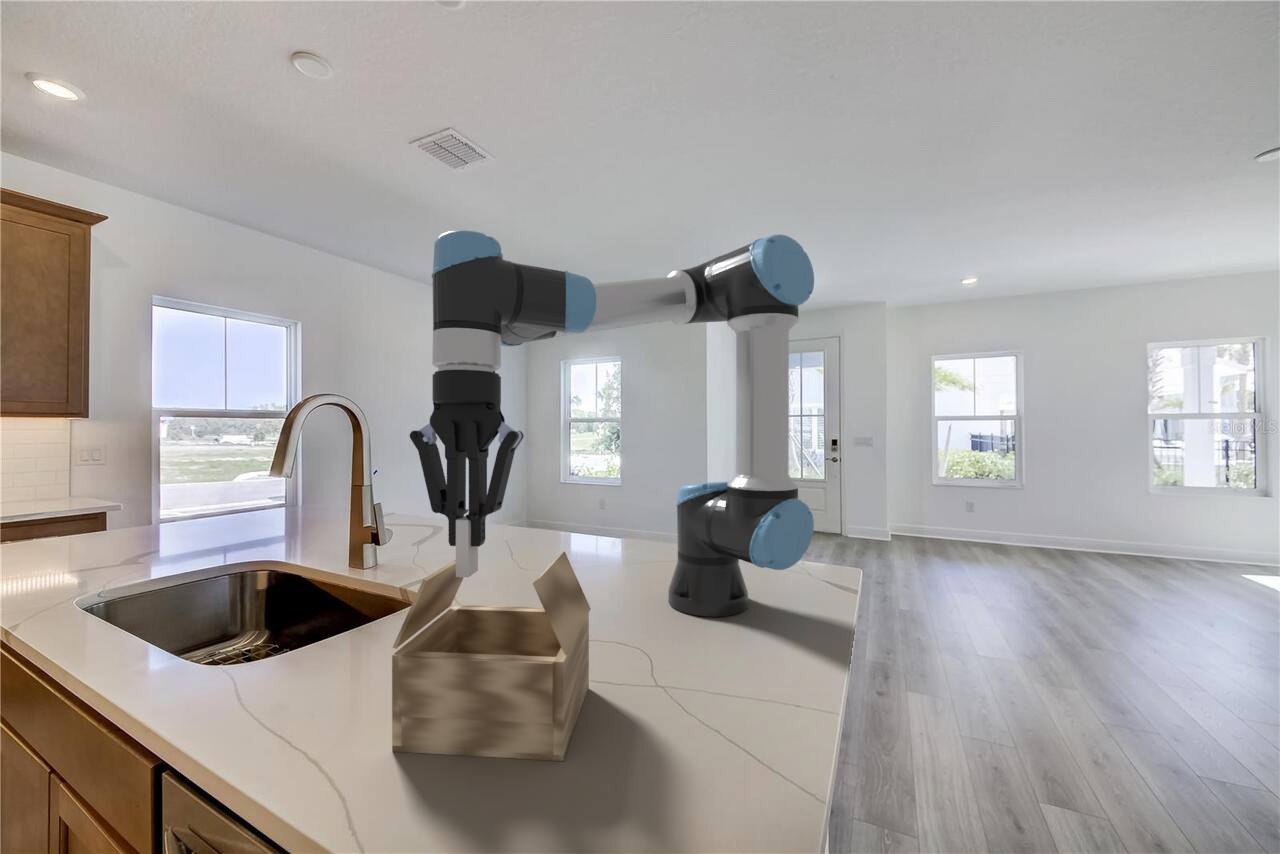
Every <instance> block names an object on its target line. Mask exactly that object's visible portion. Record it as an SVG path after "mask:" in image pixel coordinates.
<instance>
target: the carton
mask: <svg viewBox="0 0 1280 854" xmlns="http://www.w3.org/2000/svg"><path fill="white" fill-rule="evenodd" d="M589 617H590V612H589V613H588V615H587V617H586V620H585V622H584V624H583V626H582V628H581V630H580V632H579V634H578V636H577V638H576V640H575V642H574V644H573V646H572V648H571V650H570V652H569V654H568V655H565V654H564V652H563V650H562V648H561V645H560V643H559V641H558V639H557V636H556V634H555V632H554V630H553V628H552V625H551V623H550V621H549V619H548V617H547V614H546V612H545V610H544V608H543V606H542V607H541V606H540V607H538V606H507V605H477V604H476V605H475V604H473V605H472V604H462V605H461V606H459V605H458V606H457V605H456V606H455V605H454V606H452V607H449V608H448V610H447V611H446V612H445V611H444V613H443V614H441V616H440V615H439V617H438V618H436V620H435V619H434V620H435V621H433V622H432V623H429V625H428V626H426V627H425V628H423V630H422V631H420V632H419V633H418V634H417V635H416V636H413V638H412V639H409V641H408V642H406V643H405V644H404V645H403V646H402V647H401V648H399V649H398V650H397V651H395V652H394V653H393V654H391V715H392V717H391V722H392V723H391V731H392V732H391V734H392V735H391V744H392V745H391V746H392V748H391V749H392V752H394V753H395V752H398V753H413V754H414V753H415V754H429V755H430V754H431V755H445V756H447V755H448V756H449V755H450V756H463V757H464V756H465V757H466V756H468V757H484V758H485V757H487V758H501V759H503V758H504V759H517V760H518V759H519V760H522V759H523V760H537V761H538V760H539V761H553V762H554V761H555V762H557V761H558V762H564V761H565V757H566V754H567V752H568V749H569V747H570V744H571V739H573V738H572V737H573V734H574V732H575V728H576V727H577V723H578V720H579V717H580V714H581V712H582V708H583V705H584V703H585V699H586V697H587V694H588V692H589V690H590V689H589V687H590V684H589V683H590V681H589V680H590V677H589V676H590V675H589V674H590V672H589V671H590V665H589V664H590V660H589V659H590V658H589V657H590V656H589V655H590V654H589V653H590V652H589V651H590V650H589V649H590V644H589V643H590V639H589V638H590V629H589V628H590V623H589V622H590V621H589V620H590V618H589Z"/></svg>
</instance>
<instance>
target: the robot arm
mask: <svg viewBox="0 0 1280 854" xmlns="http://www.w3.org/2000/svg"><path fill="white" fill-rule="evenodd" d="M433 246H434V248H433V261H432V262H433V263H432V273H431V279H432V357H431V358H432V360H431V361H432V362H431V363H432V365H433V366H434V367H435V368H437V369H438V370H437V371H436V370H435V372H434V373H433V374H432V404H433V410H432V413H431V414H430V417H429V423H428V424H426V425H424V426H423V427H422V428H420V429H419V430H418V429H417V430H412V431H410V433H409V438H410V440H411V441H412V443H413V445H414V447H415V448H416V449H417V452H418V455H419V461H420V464H421V469H422V473H423V478H424V482H425V487H426V491H427V495H428V499H429V504H430V509H431V511H432V512H433V513H435V514H440V515H443V516H445V517H446V518H447V520H448V545H449V546H450V547H455V560H456V577H464V578H470V577H471V576H472V575H474V574H475V573H477V572H478V571H479V562H478V561H479V547H480V546H483V545H484V544H485V541H486V519H487V516H488V515H491V514H493V513H495V512H498V511H500V510H501V509H502V507H503V502H504V499H505V494H506V491H507V490H506V489H507V485H508V482H509V478H510V477H509V476H510V473H511V468H512V464H513V461H514V457H515V452H516V450H517V448H518V447H519V445H520V444H521V442H522V441H523V439H524V433H523V432H522V431H521V430H515V429H514V428H512V427H511V426H509V425H508V424H507V423H505V422H506V421H505V416H504V414H503V413H502V409H501V405H502V404H501V403H502V400H501V399H502V377H501V376H500V374H499V373H496V371H497V370H498V371H499V370H500V369H501V367H502V366H501V365H502V361H501V358H502V350H501V349H502V346H503V347H517V346H520V345H523V344H524V343H530V342H535V341H541V340H542V341H543V340H549V339H552V338H553V339H555V338H560V337H566V336H574V335H579V334H587V333H593V332H601V331H609V330H614V329H615V330H616V329H621V328H628V327H635V326H641V325H648V324H655V323H661V322H667V321H668V322H670V321H671V322H672V323H674V324H676V325H679V326H680V325H686V324H696V323H714V322H715V323H717V322H726V323H727V326H728V327H729V328H731V330H733V331H734V333H735V334H736V337H735V339H736V340H735V341H736V343H735V344H736V345H735V346H736V349H735V350H736V352H735V355H736V357H735V359H736V362H735V363H736V364H735V365H736V367H735V369H736V370H735V374H736V375H735V377H736V379H735V382H736V383H735V387H736V388H735V389H736V392H735V394H736V397H735V401H736V403H735V404H736V405H735V407H736V408H735V413H736V415H735V418H736V419H735V423H736V424H735V434H736V435H735V436H736V437H735V443H736V444H735V447H736V449H735V452H736V453H735V456H736V457H735V464H736V465H735V475H734V476H733V477H732V478H731V479H730V480H729V481H719V482H718V481H715V482H701V483H689V484H683V485H681V486H680V487H679V489H678V492H677V503H676V507H677V508H676V512H677V513H676V517H677V518H676V524H677V526H676V527H677V561H676V565H675V568H674V571H673V575H672V578H671V581H670V584H669V587H668V598H667V599H668V603H669V605H670V607H672V608H673V609H674V610H676V611H679V612H681V613H685V614H689V615H692V616H699V617H710V618H711V617H712V618H714V617H728V616H733V615H736V614H740V613H742V612H744V611H746V610H747V609H748V607H749V592H748V589H747V585H746V582H745V579H744V575H743V573H742V569H741V566H740V563H739V561H743V562H746V563H750V564H751V565H754V566H756V567H757V568H762V569H763V568H767V569H770V570H775V571H784V570H786V569H787V570H788V569H790V568H791V567H794V566H795V565H796V564H797V563H799V562H800V561H801V559H803V557H804V554H806V552H807V551H808V549H809V547H810V545H811V543H812V539H813V537H814V536H813V535H814V529H815V525H814V523H815V521H814V517H813V512H812V511H811V510H810V507H809V505H807V504H806V503H805V502H803V501H802V500H801V499H799V485H798V484H797V483H796V482H795V481H794V480H793V478H791V477H790V474H789V466H790V465H789V460H790V459H789V451H790V450H789V445H790V443H789V440H790V439H789V438H790V437H789V428H790V427H789V420H790V419H789V417H790V416H789V411H790V410H789V409H790V408H789V403H790V402H789V401H790V400H789V397H790V396H789V392H790V391H789V388H790V387H789V385H790V384H789V381H790V380H789V379H790V378H789V377H790V376H789V374H790V373H789V372H790V370H789V368H790V365H789V363H790V362H789V361H790V358H789V357H790V351H789V350H790V345H789V343H790V342H789V341H790V339H789V338H790V335H789V334H790V331H791V329H793V328H794V326H795V325H796V324H797V323H798V322H799V306H801V305H803V304H804V303H805V302H807V301H808V300H809V298H810V297H811V295H812V294H813V291H814V286H815V273H814V268H813V264H812V262H811V260H810V257H809V255H808V254H807V252H805V250H804V248H803V246H802V245H801V244H800V243H799V242H798V241H797V240H795V239H794V238H792V237H790V236H788V235H784V234H780V233H779V234H773V235H769V236H767V237H764V238H763V237H762V238H758V239H755V240H754V241H752V243H749V244H747V245H744V246H741V247H739V248H737V249H734V250H732V251H730V252H728V253H724V254H722V255H719V256H717V257H715V258H712V259H711V260H708V261H705V262H703V263H700V264H698V265H697V266H696V265H695V266H693V267H689V268H685V269H680V270H679V269H677V270H673V271H671V272H670V273H669V274H668V275H667V276H665V277H655V278H647V279H646V278H644V279H633V280H632V279H631V280H623V281H610V282H601V283H599V282H598V283H593V282H592V281H591V280H590V278H588V277H586V276H584V275H580V274H576V273H572V272H569V271H568V270H565V271H563V270H557V269H551V268H545V267H539V266H534V265H529V264H524V263H517V262H512V260H511V261H510V260H506V259H504V258H503V257H504V255H503V253H502V248H501V244H500V242H499V241H498V240H497V239H496V238H494V237H493V236H488V235H486V234H485V233H483V232H479V231H474V230H466V229H461V230H457V229H456V230H450V231H447V232H444V233H442V234H440V235H439V236H438V238H436V240H435V241H434V245H433ZM498 434H499V436H498ZM497 436H498V442H499V443H500V444H499V446H498V449H497V453H496V455H495V460H494V465H493V469H492V473H491V478H490V482H489V485H488V457H489V454H490V453H489V447H490V445H491V444H492V443H493V442H494V440H495V438H496V437H497ZM438 439H439V440H440V441H441V443H442V444H443V446H444V458H445V459H446V476H445V471H444V468H443V463H442V459H441V455H440V451H439V450H440V449H439V447H438V444H437V440H438ZM467 460H468V508H466V507H467V505H466V502H467V499H466V498H467V494H466V491H467V489H466V488H467V487H466V486H467ZM467 513H468V514H467Z"/></svg>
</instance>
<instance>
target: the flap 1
mask: <svg viewBox="0 0 1280 854" xmlns="http://www.w3.org/2000/svg"><path fill="white" fill-rule="evenodd" d="M464 578H465V577H456V559H455V560H453V561H451V562H450V563H448V564H446V565H444V566H443V567H441V568H440V569H437V570H436V571H434V572H433V573H431V574H430V575H427V576H426V577H425V578H423V579H422V581H421V584H420V585H419V588H418V590H417V592H416V594H415V597H414V599H413V601H412V603H411V606H410V607H409V610H408V612H407V614H406V617H405V619H404V621H403V623H402V626H401V628H400V630H399V632H398V634H397V636H396V639H395V641H394V642H393V646H392V648H393V649H395V650H396V649H398V648H399V647H400V646H401V645H403V644H404V643H405V642H407V641H408V640H410V638H412V637H414V635H416V634H417V633H418V632H419V631H421V630H422V629H424V627H427V625H428V624H430V622H432V621H433V620H435V619H437V617H438V616H440V615H442V613H443V612H445V611H446V610H447V609H450V608H451V606H452V605H453V601H454V600H455V598H456V595H457V594H458V591H459V588H460V586H461V585H462V583H463V580H464Z"/></svg>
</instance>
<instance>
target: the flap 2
mask: <svg viewBox="0 0 1280 854" xmlns="http://www.w3.org/2000/svg"><path fill="white" fill-rule="evenodd" d="M532 585H533V588H534V590H535V592H536V594H537V596H538V598H539V601H540V603H541V605H542V608H544V610H545V612H546V614H547V617H548V619H549V621H550V623H551V625H552V628H553V630H554V632H555V634H556V636H557V639H558V641H559V643H560V645H561V648H562V650H563V652H564V654H565V655H568V654H569V652H570V650H571V648H572V646H573V644H574V642H575V640H576V638H577V636H578V634H579V632H580V630H581V628H582V626H583V624H584V622H585V620H586V617H587V615H588V613H589V614H590V611H591V606H590V604H589V602H588V599H587V598H586V595H585V593H584V591H583V589H582V587H581V584H580V582H579V580H578V578H577V575H576V574H575V570H574V569H573V566H572V565H571V562H570V560H569V558H568V555H567V553H566V552H565V550H564V551H561V553H560V554H559V555H558V556H557V557H556V558H555V559H554V560H553V561H552V562H551V563H550V565H548V566H547V568H546V569H545V570H544V571H543V572H542V573H541V574H540V575H539V576H538V578H536V580H535V581H533V583H532Z"/></svg>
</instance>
